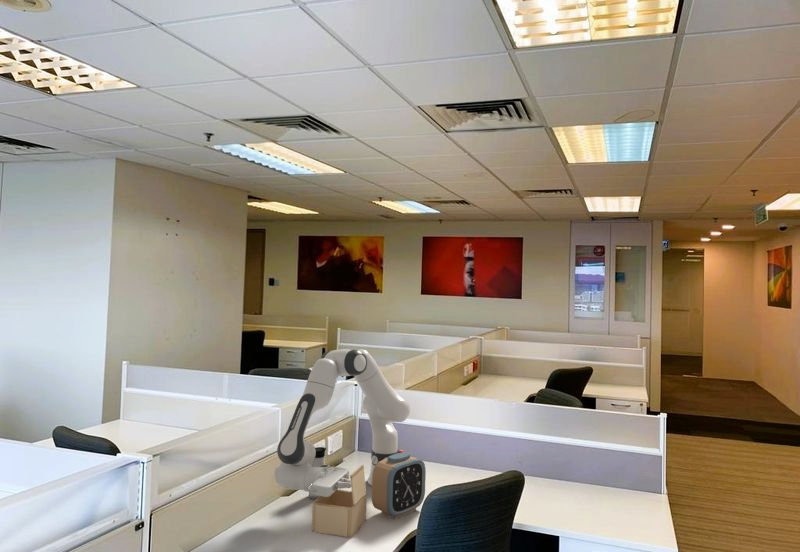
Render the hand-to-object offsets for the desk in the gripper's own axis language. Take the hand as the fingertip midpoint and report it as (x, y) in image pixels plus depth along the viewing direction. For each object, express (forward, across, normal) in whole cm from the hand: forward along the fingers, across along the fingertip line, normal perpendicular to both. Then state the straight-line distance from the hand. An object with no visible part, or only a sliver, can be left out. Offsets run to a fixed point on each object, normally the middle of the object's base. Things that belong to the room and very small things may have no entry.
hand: (351, 484), depth 205 cm
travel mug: (-24, +23, +16) cm, 36 cm away
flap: (+3, 0, +5) cm, 6 cm away
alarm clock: (+12, +19, +16) cm, 28 cm away
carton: (-4, 0, +16) cm, 16 cm away
